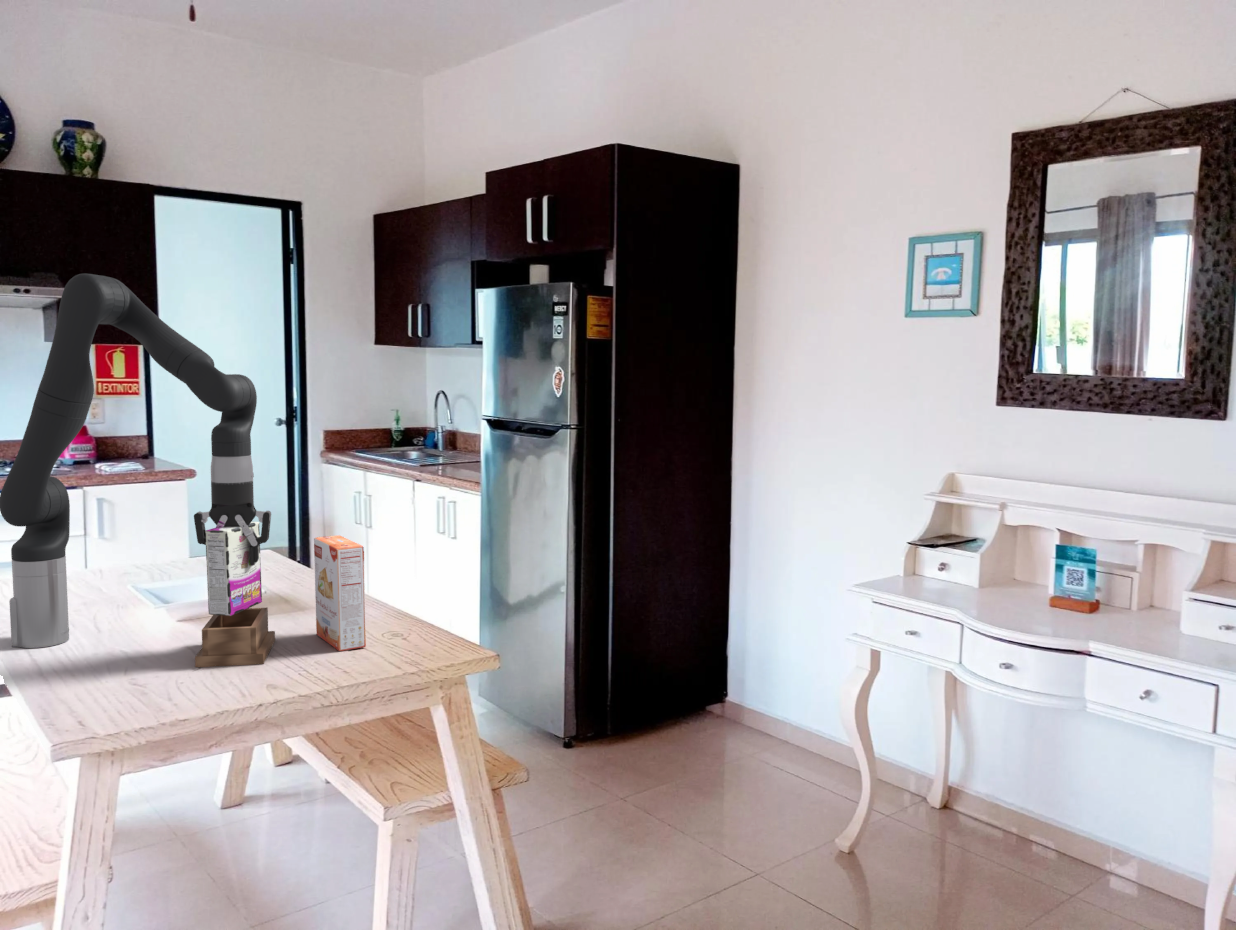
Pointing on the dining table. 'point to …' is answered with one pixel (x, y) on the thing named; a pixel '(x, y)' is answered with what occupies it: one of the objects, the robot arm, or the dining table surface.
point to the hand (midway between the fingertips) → (234, 564)
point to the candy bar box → (231, 571)
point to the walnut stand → (236, 639)
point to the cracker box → (340, 592)
